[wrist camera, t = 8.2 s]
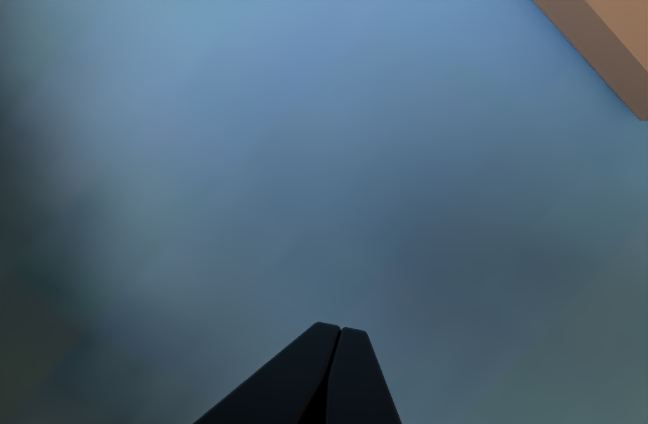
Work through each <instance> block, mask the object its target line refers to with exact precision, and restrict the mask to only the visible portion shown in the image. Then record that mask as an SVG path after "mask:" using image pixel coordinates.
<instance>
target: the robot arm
mask: <svg viewBox="0 0 648 424" xmlns="http://www.w3.org/2000/svg"><path fill="white" fill-rule="evenodd" d="M193 424H402V423H401V420H400V417H399V415H398V412H397V410H396V407H395V404H394V402H393V399H392V397H391V394H390V391H389V389H388V386H387V384H386V381H385V378H384V376H383V373H382V371H381V368H380V365H379V363H378V360H377V357H376V355H375V352H374V350H373V347H372V344H371V342H370V339H369V337H368V335H367V333H366V332H365V331H362V330H358V329H353V328H348V327H344V328H342V330H341V329H340V327H339V326H337V325H332V324H327V323H322V322H316V323H315V324H313V325H312V326H311V327H310V328H309V329H307V330H306V331H305V332H304V333H302V334H301V335H300V336H299V337H298V338H296V339H295V340H294V341H293V342H292V343H290V344H289V345H288V346H287V347H285V348H284V349H283V350H282V351H281V352H279V353H278V354H277V355H276V356H275V357H273V358H272V359H271V360H270V361H268V362H267V363H266V364H265V365H264V366H262V367H261V368H260V369H259V370H257V371H256V372H255V373H254V374H253V375H251V376H250V377H249V378H248V379H247V380H245V381H244V382H243V383H242V384H240V385H239V386H238V387H237V388H236V389H234V390H233V391H232V392H231V393H230V394H228V395H227V396H226V397H225V398H223V399H222V400H221V401H220V402H219V403H217V404H216V405H215V406H214V407H213V408H211V409H210V410H209V411H208V412H206V413H205V414H204V415H203V416H202V417H200V418H199V419H198V420H197V421H196V422H194V423H193Z"/></svg>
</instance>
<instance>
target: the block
mask: <svg viewBox="0 0 648 424" xmlns="http://www.w3.org/2000/svg"><path fill="white" fill-rule="evenodd" d="M533 1H534V3H535V4H536V5H537V6H538V7H539V8H540V9H541V10H542V12H543V13H544V14H545V15H546V16H547V17H548V18H549V19H550V20H551V22H552V23H553V24H554V25H555V26H556V27H557V28H558V29H559V31H560V32H561V33H562V34H563V35H564V36H565V37H566V38H567V39H568V41H569V42H570V43H571V44H572V45H573V46H574V47H575V48H576V49H577V51H578V52H579V53H580V54H581V55H582V56H583V57H584V58H585V60H586V61H587V62H588V63H589V64H590V65H591V66H592V67H593V68H594V70H595V71H596V72H597V73H598V74H599V75H600V76H601V77H602V78H603V80H604V81H605V82H606V83H607V84H608V85H609V86H610V87H611V89H612V90H613V91H614V92H615V93H616V94H617V95H618V96H619V97H620V99H621V100H622V101H623V102H624V103H625V104H626V105H627V106H628V108H629V109H630V110H631V111H632V112H633V113H634V114H635V115H636V116H637V118H638V119H639V120H648V0H533Z"/></svg>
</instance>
